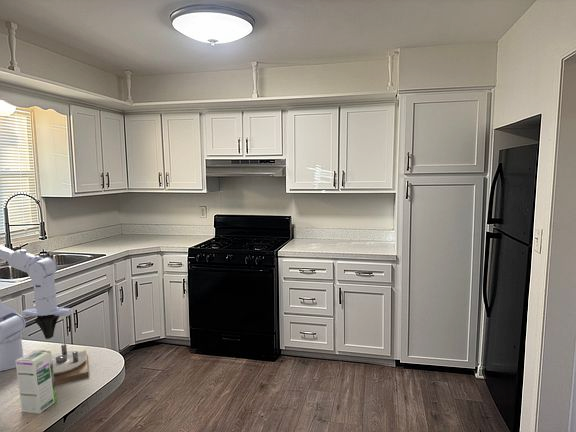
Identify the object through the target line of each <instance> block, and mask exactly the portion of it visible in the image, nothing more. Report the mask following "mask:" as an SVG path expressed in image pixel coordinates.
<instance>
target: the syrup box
mask: <svg viewBox="0 0 576 432" xmlns="http://www.w3.org/2000/svg"><path fill="white" fill-rule="evenodd" d="M26 354H27V355H25V356H23V357H21V358H20V359H17V360H16V368H15V369H16V375H17V382H18V390H19V399H20V400H19V401H20V406H21V407H20V408H21V412H23V413H26V414H27V413H28V414H35V415H36V414H37V415H40V414H42V413H43V412H44V411H45V410H47V409H48V408H49V407H51V406H52V405H53V404H55V403H56V402H57V401H58V400H57V392H56V385H55V380H54V372H53V363H52V355H53V354H52V351H51V350H45V349H40V350H39V349H37V350H35V349H34V350H32V351H30V352H29V353H26Z"/></svg>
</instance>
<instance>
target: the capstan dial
mask: <svg viewBox="0 0 576 432" xmlns="http://www.w3.org/2000/svg"><path fill="white" fill-rule="evenodd" d="M60 346H61V352H59V353H56V354H52V363H53V372H54V376H56V375H61V374H65V373H68V372H71V371H73V370H75V369H77V368H79V367H80V366H82V365H83V364H84V363H85V354H84V353H82V352H81V351H76V350H72V351H71V350H69V351H68V350H67V349H68V348H67V343H66V344H65V343H64V344H61V345H60Z"/></svg>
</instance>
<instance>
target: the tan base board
mask: <svg viewBox="0 0 576 432" xmlns="http://www.w3.org/2000/svg"><path fill="white" fill-rule="evenodd" d="M80 352H82V353H84V354H85V363H84V364H83V365H82V366H80V367H79V368H77V369H75V370H73V371H71V372H68V373H65V374H61V375H56V376H54V380H55V386H56V385H60V384H64V383H68V382H72V381H76V380H80V379H84V378H88V377H89V366H88V356H87V355H88V354H87V349H86V350H81V351H80Z"/></svg>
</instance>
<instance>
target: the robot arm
mask: <svg viewBox="0 0 576 432" xmlns="http://www.w3.org/2000/svg"><path fill="white" fill-rule="evenodd" d="M0 260H3V261H7V264H8V266H9V267H11V268H14V269H16V270H19V271H21V272H24V273H26V274H27V275H28V277H29V278H30V279H31V283H32V285H33V293H34V303H35V304H34V305H35V308H27V309H24V310H22V311H21V313H22V315H21V314H20V313H18V312H17V311H16V309H15V308H11V307H9V306H6V305H5V304H4V302H3V300H2V299H1V298H0V372H2V371H6V370H11V369H12V370H13V369H16V360H17V359H20V358H21V357H23V356H25V355H27V354H28V353H24V351H23V349H24V348H23V342H22V341H23V339H22V335H23V330H24V329H25V328H26V325H27V323H26V319H25V318H28V317H36V318H35V319H34V323H36V324H37V326H38V327H39V328H40V330H41V331H42V334H43V336H44V339H45V340H49V339H51V338H53V337H54V334H55V328H56V326H57V322H58V321H59V318H60V316H61V317H62V316H63V317H69V316H71V315H72V308H70V307H69V308H67V307H61V306H60V307H59V306H58V304H57V303H58V301H57V293H56V283H55V282H56V281H55V280H56V279H55V274H56V272H57V271H58V268H59V266H58V263H57V262H56V260H55V259H54V258H52V257H50V256H48V257H41V256H40V255H34V254H32V253H30V252H28V250H27V249H23V248H22V249H17V250H15V251H14V250H12V249H11V248H8V247H5V246H4V245H2V244H0Z"/></svg>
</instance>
